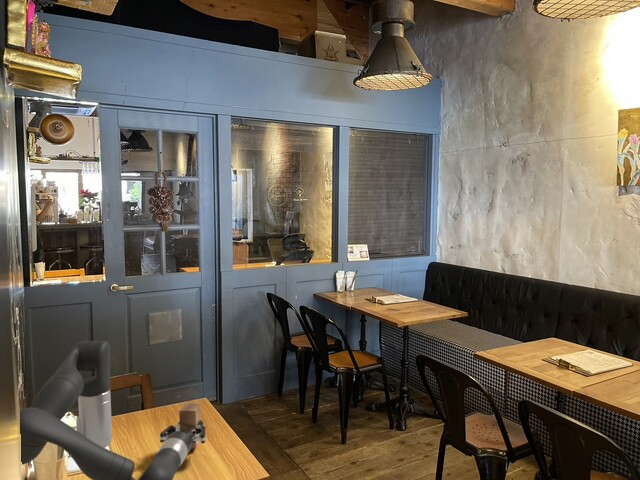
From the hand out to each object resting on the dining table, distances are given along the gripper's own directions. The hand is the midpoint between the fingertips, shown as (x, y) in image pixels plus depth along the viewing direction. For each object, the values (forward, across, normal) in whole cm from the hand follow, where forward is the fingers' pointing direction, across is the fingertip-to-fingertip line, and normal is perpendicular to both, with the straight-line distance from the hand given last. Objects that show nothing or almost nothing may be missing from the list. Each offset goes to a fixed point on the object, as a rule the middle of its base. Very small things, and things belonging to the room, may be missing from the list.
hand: (192, 422), depth 153 cm
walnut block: (-2, 0, +6) cm, 6 cm away
